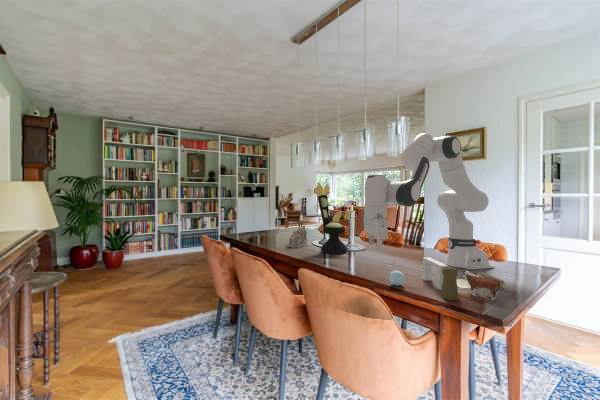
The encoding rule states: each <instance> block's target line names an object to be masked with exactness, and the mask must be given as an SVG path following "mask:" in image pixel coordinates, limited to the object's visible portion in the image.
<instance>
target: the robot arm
mask: <svg viewBox="0 0 600 400" xmlns="http://www.w3.org/2000/svg"><path fill="white" fill-rule="evenodd" d="M461 145H462V143H461V141H460V139H459V138H458V137H456V136H455V135H446V136H439V137H433V136H432V135H430V134H429V133H424V132H423V133H420V134H418V135H416V136H415V137H414V138H413V139H412V140H411V141H410V142H409V143H408V145H407V146H406V147H405V149H403V151H402V154H401V157H400V159H401V163H402V165H403V166H404V168H406V169H407V170H409V171H411V172H412V173H411V175H410V178H409V179H408V180H404V181H392V180H389V179H388V178H387V177H386V176H387V175H386V174H385V173H383V172H382V173H380V172H379V173H371V174H368V175H367V176H366V179H365V183H364V184H365V185H364V198H365V201H364V202H365V203H364V209H363V210H362V216H363V229H364V233H366V234H367V237H368V244H369V245H370V246H374V245H375V249H377V250H382V245H383V241H384V240H386V239H388V222H387V219H386V218H387V211H388V207H387V206H388V205H391V206H402V207H407V208H408V207H410V208H411V207H413V206H414V205H416V203H418V202H419V200H420V197H421V192H422V189H423V186H424V183H425V181H426V179H427V176H428V173H429V170H430V165H431V164H430V163H433V162H437V163H438V167H439V170H440V175H441V177H442V181H443V183H444V185H445V186H447V187H448V188H450V190H446V191H442V192H440V193H439V195H438V196H437V201H436V202H437V205H438V207H439V208H440V209H441V210H442V211H443V212H444V214H445V216H446V218H447V221H448V233H449V235H448V238H447V240H448V241H447V248H448V251H447V256H446V261H445V262H444V264H445V265H448V267H453V268H459V269H460V268H461V269H466V270H467V269H468V270H482V269H483V270H484V269H494V268H495V265H494V263H493V264H492V263H491V262H490V260H489V256H488V254H487V253H486V252H485V251H483V250H482V249H481V248H479V247H478V245H480V244H481V243H482V242H481V240H480V239H474V224H473V222H472V221H471V220H469V219H468V218H467V217H466V215H465V212H467V213H477V212H483V211H485V210H486V209H487V208H488V205H489V201H490V199H489V197H488V195H487V194H486V193H485V192H484V191H482V190H480V189H479V188H477V186H475V185H474V184H473V182H472V181H471V180H470V178H469V176H468V173H467V171H466V166H465V163H464V160H463V157H462V155H461V150H462V146H461ZM451 189H452V190H451ZM374 237H375V238H376V243H375V239H374Z"/></svg>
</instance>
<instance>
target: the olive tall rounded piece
mask: <svg viewBox="0 0 600 400" xmlns="http://www.w3.org/2000/svg"><path fill="white" fill-rule="evenodd" d="M442 274H443V275H444V277H443V284H442V290H440V291H441V292H440V297H441V299H444V300H447V301H448V300H449V301H457V300H458V301H459V299H460V297H459V291H458V289H459V287H457V280H456V279H457V277H458V274H459V271H458V269H457V267H453V266H448V267H444V268H443V269H442Z"/></svg>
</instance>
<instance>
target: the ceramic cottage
mask: <svg viewBox="0 0 600 400" xmlns="http://www.w3.org/2000/svg"><path fill="white" fill-rule="evenodd" d="M307 236H308V232H307V230H306V225H305V224H303V225H302V227H297V230H294V231H293V233H292V235H291V236H290V237H289V239H288V245H287V247H289V248H292V249H293V248H294V249H296V248H297V249H298V248H304V247H306V248H307V247H308V245H309V244H308V238H307Z"/></svg>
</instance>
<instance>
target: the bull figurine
mask: <svg viewBox="0 0 600 400" xmlns="http://www.w3.org/2000/svg"><path fill="white" fill-rule="evenodd" d="M462 277H463V279H466V280H467V281H468V284H469V285H470V287H471V289H469V290H470V291H469V292H468V293H467V294H468V295H473V291H474V290H475V292H474V294H475V295H479V291H478V289H480V290H483V292H486V291H487V290H489V291H490V293H489V294H488V295H487V298H490V301H494V300H495V299H496V296H498V292H499V290H500V289H499V288H500V283H499V281H497V280H493V279H488V278H483V277H480V276H477V274H474V273H473V272H470V271H469V270H466V271H464V272H463V273H462ZM498 286H499V287H498Z"/></svg>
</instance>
